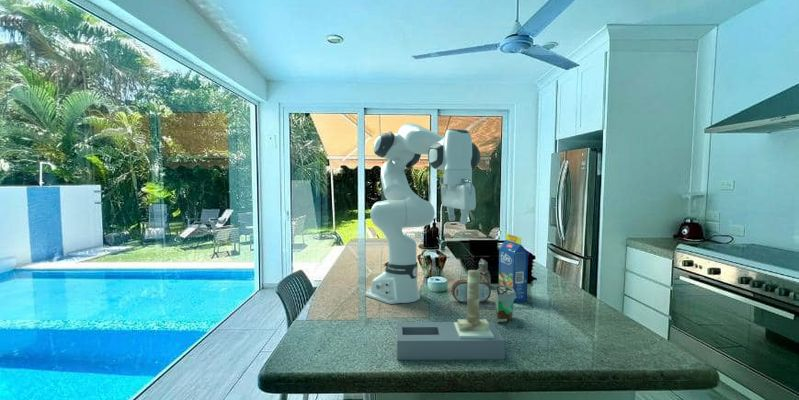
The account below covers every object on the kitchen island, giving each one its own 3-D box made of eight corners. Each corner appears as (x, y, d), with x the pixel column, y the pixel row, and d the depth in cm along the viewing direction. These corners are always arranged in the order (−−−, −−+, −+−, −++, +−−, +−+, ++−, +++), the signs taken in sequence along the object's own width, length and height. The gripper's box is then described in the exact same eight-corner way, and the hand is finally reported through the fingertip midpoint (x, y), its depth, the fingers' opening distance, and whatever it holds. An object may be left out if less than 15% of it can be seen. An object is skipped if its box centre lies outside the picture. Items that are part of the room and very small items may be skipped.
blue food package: (511, 292, 146) (513, 233, 145) (527, 301, 135) (528, 237, 133) (498, 292, 145) (499, 233, 144) (512, 302, 134) (513, 238, 132)
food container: (517, 327, 111) (518, 296, 110) (497, 325, 112) (498, 294, 112) (513, 313, 123) (513, 285, 122) (495, 311, 124) (495, 284, 124)
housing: (397, 359, 90) (397, 338, 90) (396, 339, 102) (396, 320, 102) (504, 359, 91) (505, 338, 90) (491, 338, 103) (491, 319, 102)
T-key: (459, 331, 95) (460, 272, 94) (457, 326, 98) (458, 269, 97) (488, 330, 95) (489, 272, 94) (485, 326, 98) (486, 269, 97)
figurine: (474, 288, 152) (474, 260, 151) (473, 283, 159) (474, 257, 158) (491, 289, 151) (491, 261, 150) (489, 284, 158) (490, 258, 157)
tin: (489, 300, 136) (489, 279, 136) (491, 303, 133) (492, 281, 133) (451, 300, 136) (451, 279, 135) (452, 303, 133) (452, 281, 132)
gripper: (481, 179, 103) (480, 225, 103) (455, 179, 122) (454, 218, 123) (461, 179, 101) (460, 226, 102) (438, 179, 121) (437, 219, 122)
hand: (457, 222), depth 113 cm, fingers open, 8 cm apart
